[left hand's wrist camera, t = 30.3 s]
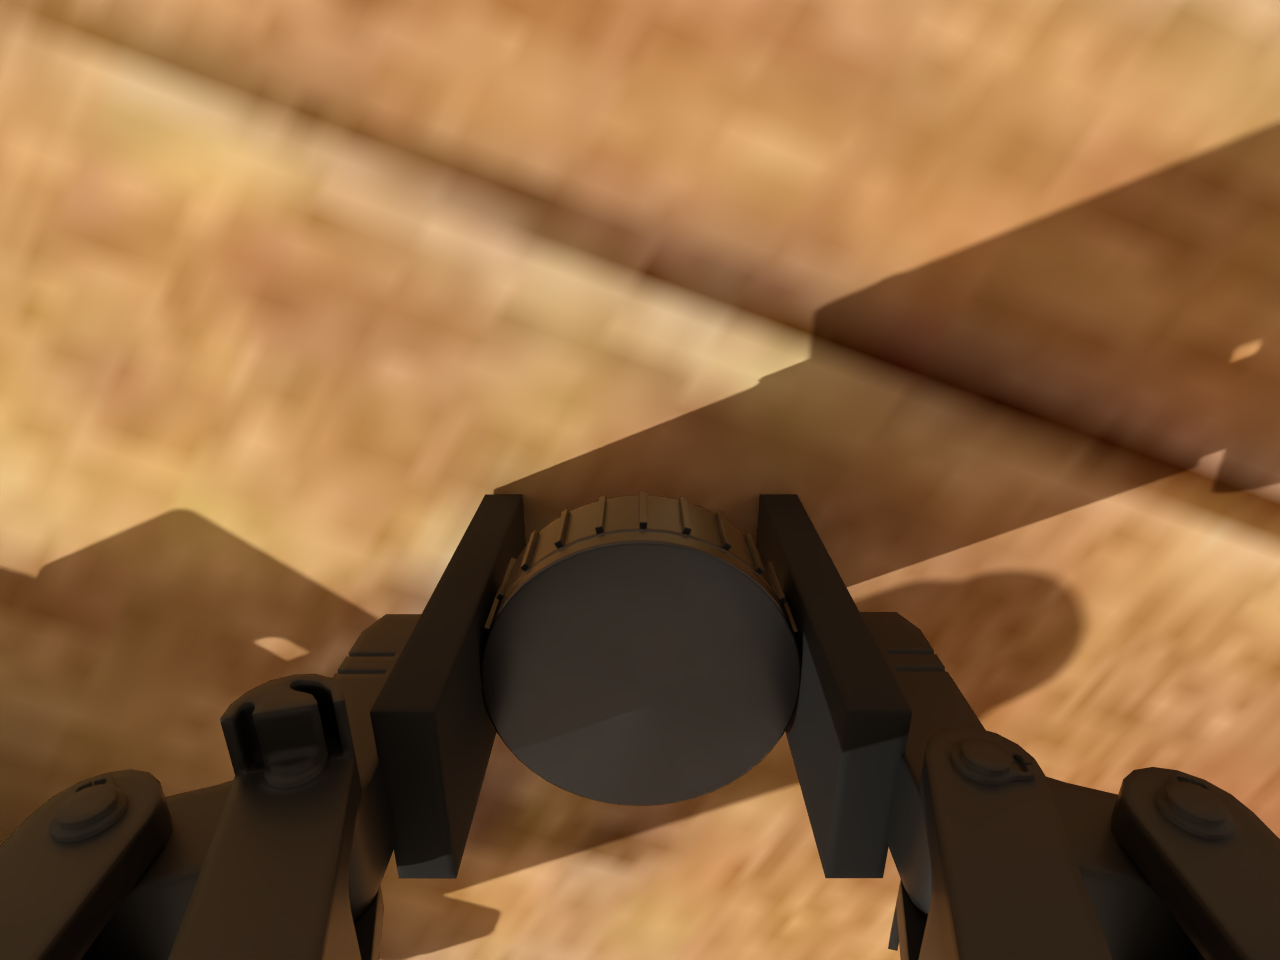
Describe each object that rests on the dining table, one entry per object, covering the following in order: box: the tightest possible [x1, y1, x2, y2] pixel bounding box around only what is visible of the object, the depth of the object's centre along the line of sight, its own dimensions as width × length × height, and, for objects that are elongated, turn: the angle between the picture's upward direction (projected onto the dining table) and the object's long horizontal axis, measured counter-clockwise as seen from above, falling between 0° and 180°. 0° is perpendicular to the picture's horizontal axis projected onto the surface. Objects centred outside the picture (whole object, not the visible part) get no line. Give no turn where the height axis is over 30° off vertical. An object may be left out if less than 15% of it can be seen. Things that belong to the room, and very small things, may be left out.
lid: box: [480, 491, 801, 806], centre depth 11 cm, size 5×5×2 cm
